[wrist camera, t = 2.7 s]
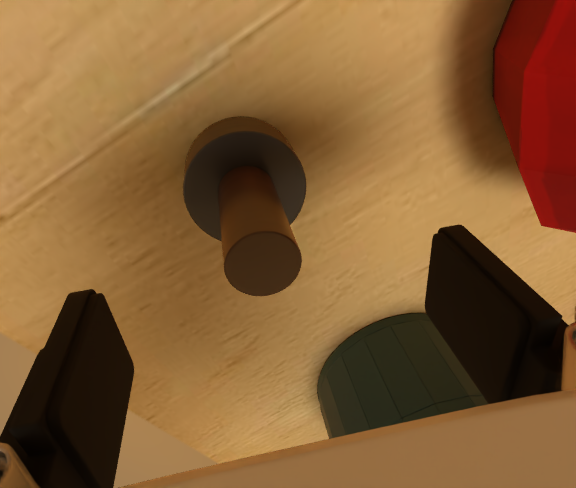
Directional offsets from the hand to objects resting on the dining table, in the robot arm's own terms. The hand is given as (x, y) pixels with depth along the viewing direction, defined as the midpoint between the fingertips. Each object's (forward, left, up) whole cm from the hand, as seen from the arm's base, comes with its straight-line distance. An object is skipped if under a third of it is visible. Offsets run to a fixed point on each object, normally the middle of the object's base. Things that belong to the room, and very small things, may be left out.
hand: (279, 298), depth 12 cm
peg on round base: (0, 0, -11) cm, 11 cm away
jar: (+9, -18, -11) cm, 23 cm away
